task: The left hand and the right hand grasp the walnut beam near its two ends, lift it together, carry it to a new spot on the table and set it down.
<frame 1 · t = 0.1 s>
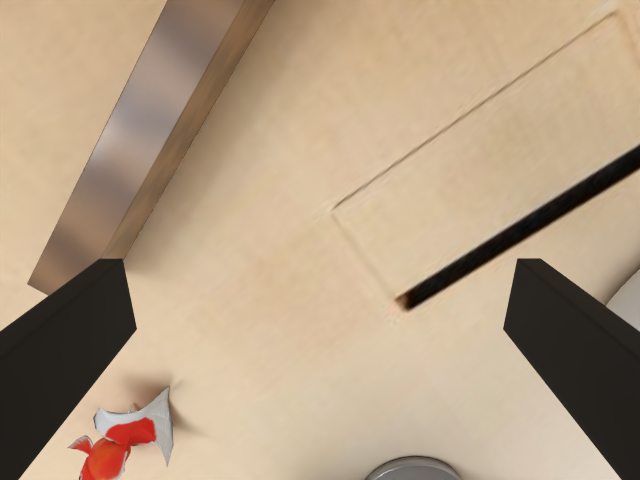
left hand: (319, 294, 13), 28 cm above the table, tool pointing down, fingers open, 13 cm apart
fish: (138, 410, 51), on the table
beam: (212, 56, 35), on the table
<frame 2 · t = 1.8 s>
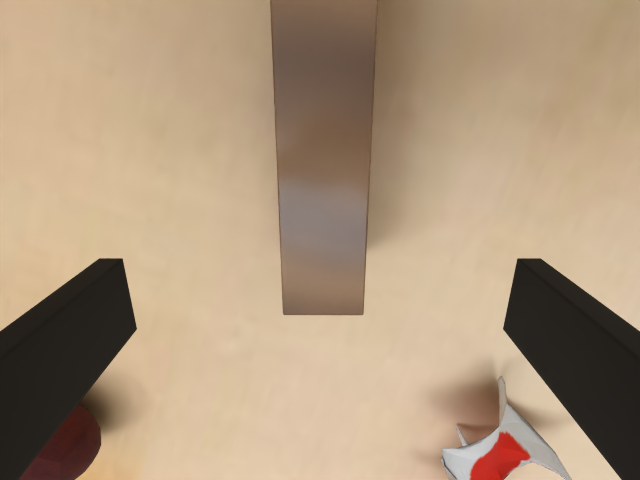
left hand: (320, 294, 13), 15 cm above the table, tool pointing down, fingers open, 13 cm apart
fish: (468, 431, 35), on the table
dark red ball: (74, 411, 34), on the table
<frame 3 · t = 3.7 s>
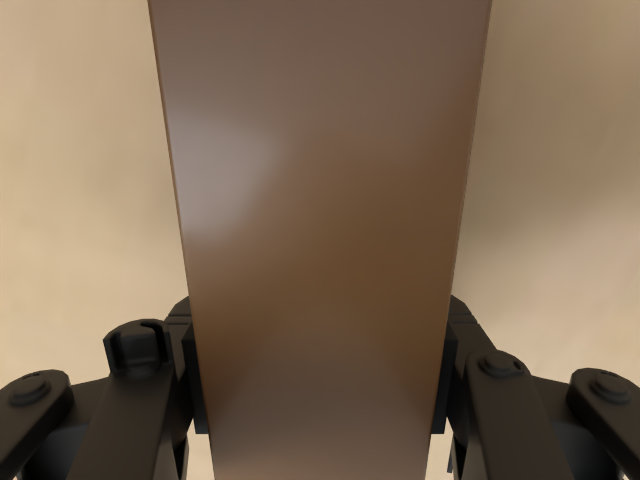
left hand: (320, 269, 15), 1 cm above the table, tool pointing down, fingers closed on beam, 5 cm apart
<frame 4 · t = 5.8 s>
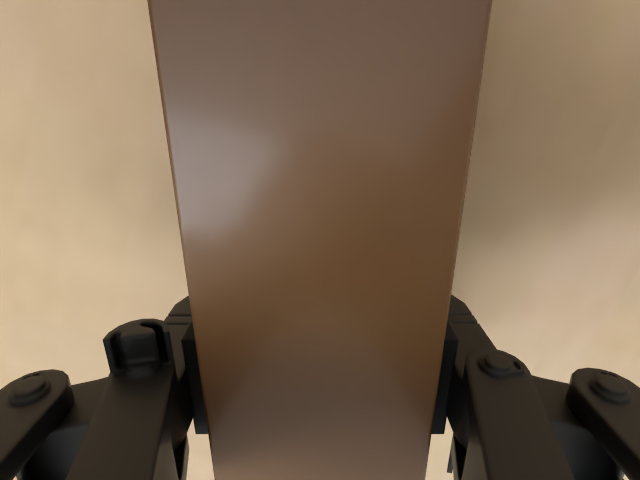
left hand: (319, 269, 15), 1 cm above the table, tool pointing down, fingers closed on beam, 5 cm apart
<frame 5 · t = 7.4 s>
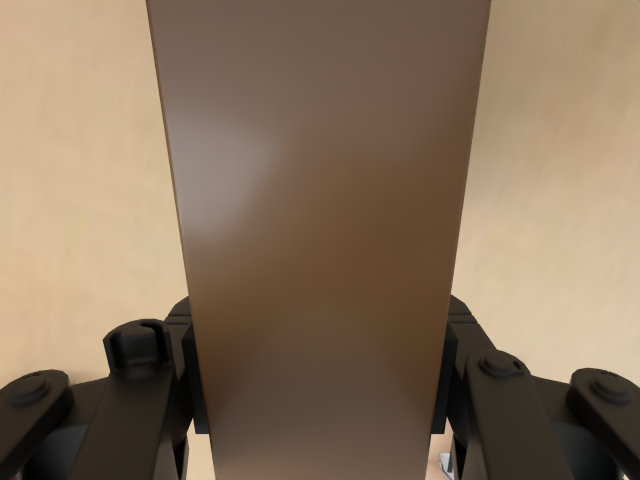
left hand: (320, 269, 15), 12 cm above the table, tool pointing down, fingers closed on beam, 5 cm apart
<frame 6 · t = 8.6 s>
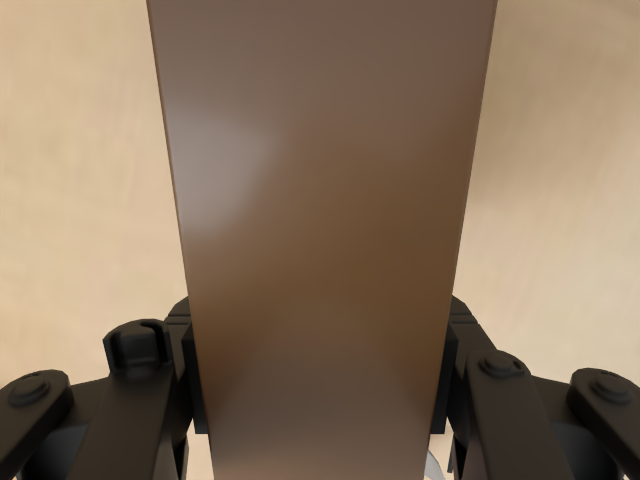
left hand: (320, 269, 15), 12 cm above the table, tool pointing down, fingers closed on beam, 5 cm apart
fish: (361, 439, 34), on the table
when the left hand's fingers open (2 cm above the table, at t = 11.3 s): beam drops 1 cm, on the table.
when the right hand's fingers open (2 cm above the table, at t = 11.3 s): beam drops 1 cm, on the table.
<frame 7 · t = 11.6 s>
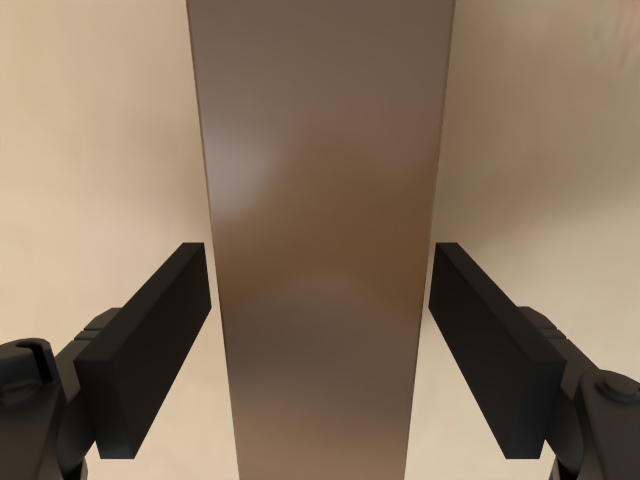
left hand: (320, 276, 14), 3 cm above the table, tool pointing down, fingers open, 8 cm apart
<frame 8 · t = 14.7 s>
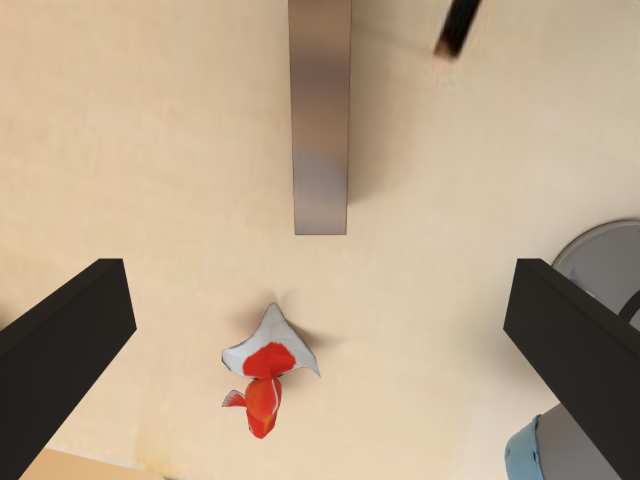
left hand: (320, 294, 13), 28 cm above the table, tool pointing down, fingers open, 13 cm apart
fish: (268, 348, 47), on the table
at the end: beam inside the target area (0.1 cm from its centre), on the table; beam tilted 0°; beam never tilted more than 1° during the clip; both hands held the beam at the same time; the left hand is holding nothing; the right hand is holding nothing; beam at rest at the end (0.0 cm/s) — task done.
